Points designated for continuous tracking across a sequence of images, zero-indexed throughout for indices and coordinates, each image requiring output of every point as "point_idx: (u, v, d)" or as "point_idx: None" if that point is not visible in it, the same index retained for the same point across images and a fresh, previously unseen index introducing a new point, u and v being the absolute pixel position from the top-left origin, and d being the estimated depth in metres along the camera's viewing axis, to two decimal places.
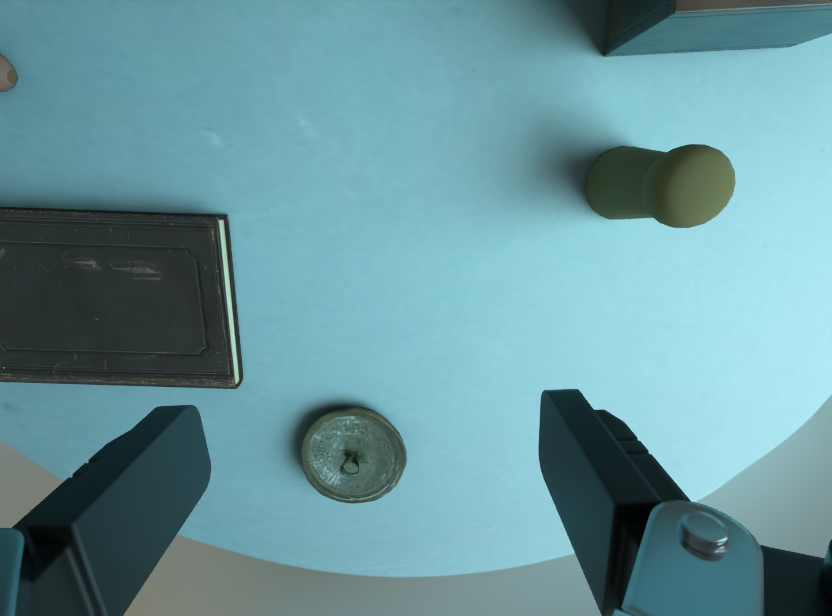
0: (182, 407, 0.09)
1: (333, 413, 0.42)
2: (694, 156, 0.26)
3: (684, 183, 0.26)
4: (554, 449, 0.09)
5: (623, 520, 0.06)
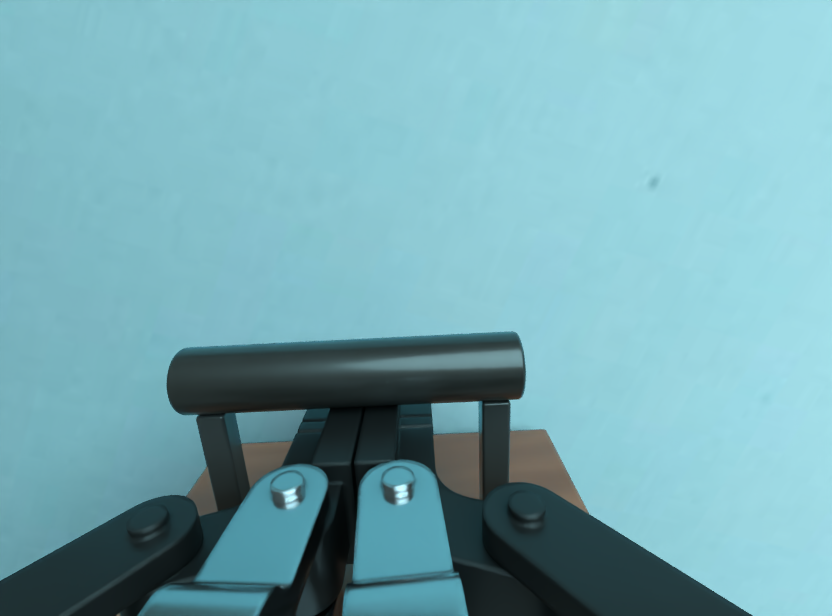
0: None
1: None
2: None
3: None
4: None
5: None
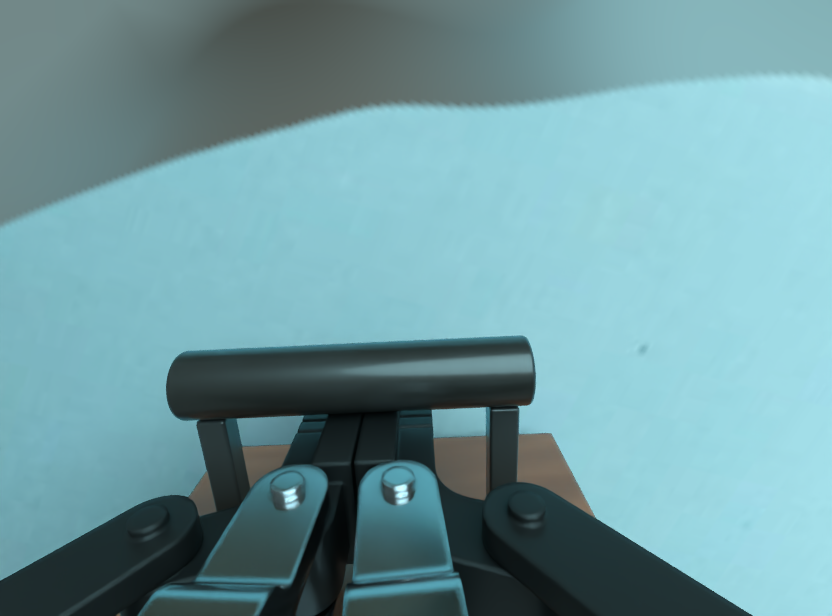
0: None
1: None
2: None
3: None
4: None
5: None
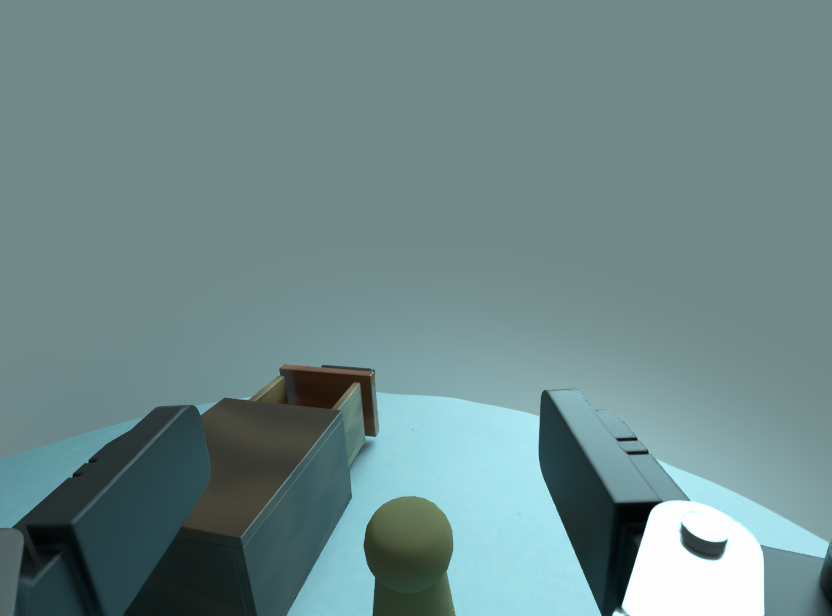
0: (182, 407, 0.09)
1: None
2: (372, 525, 0.24)
3: (395, 533, 0.24)
4: (554, 449, 0.09)
5: (623, 520, 0.06)
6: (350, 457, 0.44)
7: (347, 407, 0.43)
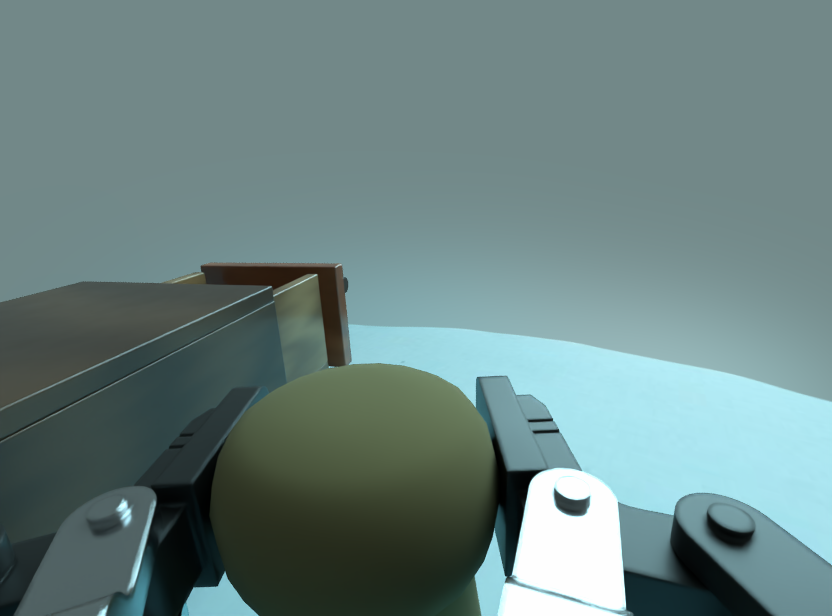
0: (257, 387, 0.10)
1: None
2: (241, 421, 0.08)
3: (304, 433, 0.07)
4: None
5: (516, 487, 0.07)
6: None
7: (291, 301, 0.26)
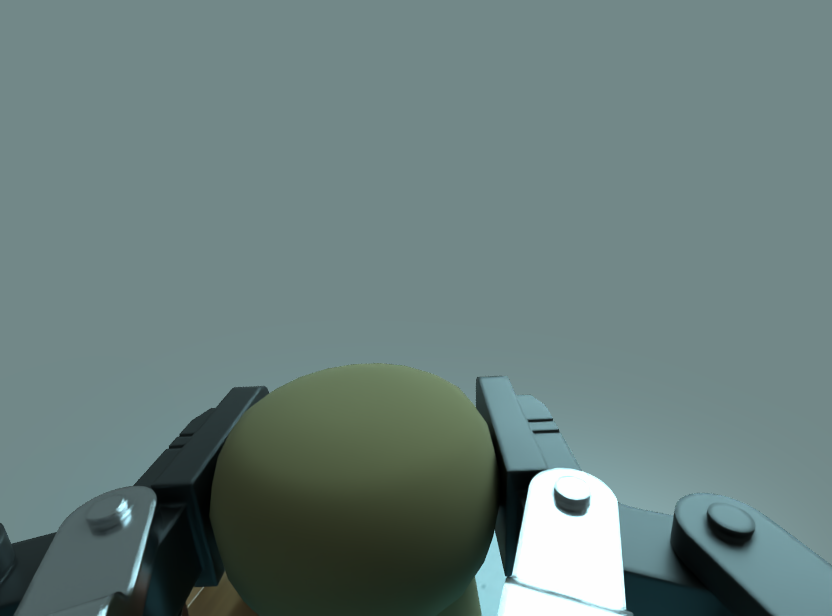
0: (257, 388, 0.10)
1: None
2: (241, 421, 0.08)
3: (305, 434, 0.07)
4: None
5: (516, 486, 0.07)
6: None
7: None
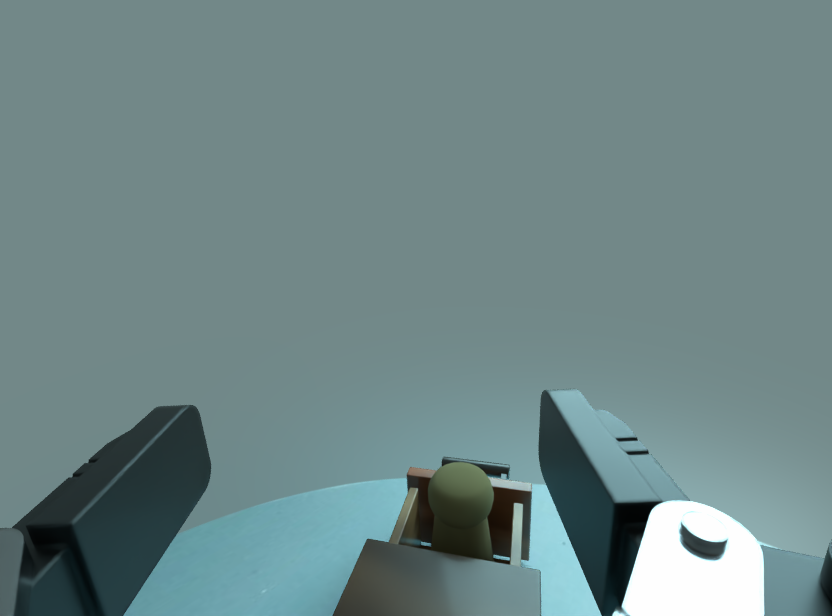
0: (182, 407, 0.09)
1: None
2: (434, 481, 0.33)
3: (453, 485, 0.33)
4: (554, 449, 0.09)
5: (623, 520, 0.06)
6: None
7: None
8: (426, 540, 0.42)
